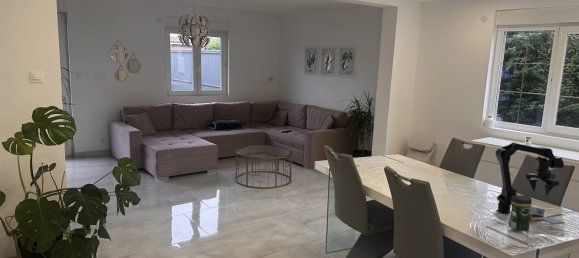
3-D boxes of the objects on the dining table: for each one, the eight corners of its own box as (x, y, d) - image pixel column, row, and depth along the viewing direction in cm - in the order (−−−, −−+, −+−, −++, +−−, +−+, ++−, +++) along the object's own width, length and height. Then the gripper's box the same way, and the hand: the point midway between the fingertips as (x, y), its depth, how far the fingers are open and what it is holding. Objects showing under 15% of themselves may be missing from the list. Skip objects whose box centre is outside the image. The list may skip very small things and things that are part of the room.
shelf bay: (530, 221, 238) (530, 214, 237) (518, 216, 246) (519, 209, 245) (543, 220, 240) (544, 212, 240) (531, 215, 248) (531, 208, 248)
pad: (552, 224, 235) (552, 223, 235) (540, 219, 242) (540, 218, 242) (564, 222, 237) (564, 222, 237) (552, 218, 245) (552, 217, 245)
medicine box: (536, 207, 245) (523, 203, 253) (534, 215, 245) (521, 210, 253) (545, 209, 248) (532, 204, 256) (543, 216, 248) (530, 211, 256)
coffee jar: (520, 225, 230) (524, 193, 228) (531, 231, 223) (535, 197, 220) (505, 226, 229) (508, 193, 226) (515, 231, 221) (519, 198, 218)
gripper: (567, 171, 243) (564, 197, 245) (540, 164, 261) (537, 188, 263) (553, 172, 240) (549, 198, 242) (526, 164, 257) (523, 189, 260)
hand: (540, 193), depth 252 cm, fingers open, 9 cm apart
